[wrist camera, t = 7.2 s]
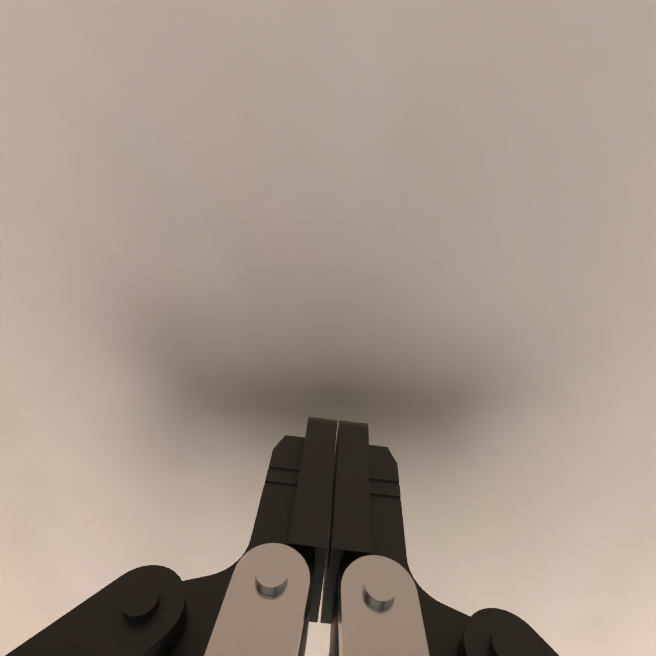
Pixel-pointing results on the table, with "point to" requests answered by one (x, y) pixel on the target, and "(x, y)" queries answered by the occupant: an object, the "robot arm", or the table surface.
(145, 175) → the table surface
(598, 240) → the table surface
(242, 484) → the table surface
